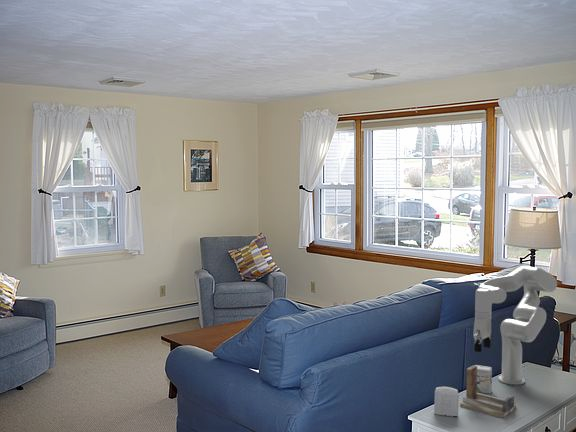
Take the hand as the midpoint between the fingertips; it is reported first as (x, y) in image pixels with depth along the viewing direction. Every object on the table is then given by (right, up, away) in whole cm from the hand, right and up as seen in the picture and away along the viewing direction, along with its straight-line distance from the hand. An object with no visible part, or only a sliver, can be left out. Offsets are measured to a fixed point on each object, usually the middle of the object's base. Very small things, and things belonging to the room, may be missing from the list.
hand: (482, 349), depth 294 cm
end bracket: (-9, -20, -13) cm, 26 cm away
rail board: (-3, -22, -18) cm, 29 cm away
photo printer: (-24, -23, -26) cm, 42 cm away
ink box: (0, -21, +2) cm, 21 cm away
